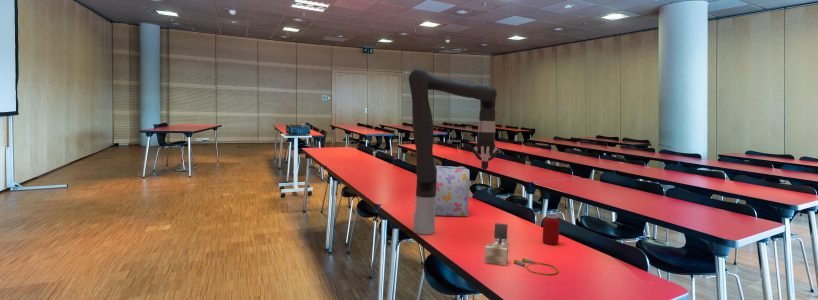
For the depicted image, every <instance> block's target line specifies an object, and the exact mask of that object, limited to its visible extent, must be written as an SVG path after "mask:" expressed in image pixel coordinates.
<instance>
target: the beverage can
mask: <svg viewBox="0 0 818 300" xmlns="http://www.w3.org/2000/svg"><path fill="white" fill-rule="evenodd" d="M542 223H543V226H542V242H543V243H544V244H546V245H550V246H556V245H557V244H559V240H560V239H559V238H560V237H559V236H560V226H561V225H560V223H561V222H560V219H559V216H557V215H553V214H551V215H550V214H546V215H545V216H544V218H543V222H542Z"/></svg>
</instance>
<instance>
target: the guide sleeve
mask: <svg viewBox="0 0 818 300" xmlns="http://www.w3.org/2000/svg"><path fill="white" fill-rule="evenodd" d="M498 242H499V239H496V238H494V241H493V243H494V244H498ZM508 244H509V234H508V233H507V240H504V239H502V245H508ZM508 246H509V245H508Z"/></svg>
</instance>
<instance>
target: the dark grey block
mask: <svg viewBox="0 0 818 300" xmlns="http://www.w3.org/2000/svg"><path fill="white" fill-rule="evenodd" d="M508 227H509V226H508V224H507V223H500V222H499V223H498V222H495V223H494V235H493V239H495V238H496V239H499V242H498V244H502V241H503V239H504V240H507V234H508V229H509V228H508Z"/></svg>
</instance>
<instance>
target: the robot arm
mask: <svg viewBox="0 0 818 300" xmlns="http://www.w3.org/2000/svg"><path fill="white" fill-rule="evenodd" d="M408 82H409V83H408V84H409V89H410V94H411V95H410V96H411V108H412V109H411V111H412V112H411V115H412V117H411V119H412V131H413V139H414V146H415V151H416V165H415V169H416V170H415V173H416V187H415V206H414V207H415V211H414V212H413V228H412V229H413V231H412V232H413V233H415V234H417V235H422V236H423V235H425V236H426V235H427V236H428V235H433V234H435V225H436V223H435V221H436V215H435V201H436V181H437V168H436V166H437V165H435V161H434V160H435V159H434V153H433V149H434V148H433V147H434V145H433V144H434V123H433V122H434V121H433V113H432V109H431V106H430V101H429V90H430V91H439V92H443V93H447V94H450V95H453V96H459V97H463V98H467V99H476V100H478V101H480V103H479V104H480V109H479V116H478V127H477V142H476V145H475V146H474V147H472V148H471V152H472V153H473V155H475V157H476V159H477V160H479V161H481V165H480V167H481V169H482V170H483V171H484V170H485V171H487V169H488V168H489V162H490V161H493V159H494V158H495V157H496V156H497V155H498V154H499V153H500V152H501V150H500V149H499V148H497V147H496V143H495V139H496V97H497V95H498V92H497V89H496V88H495V87H494V86H491V85H487V84H480V83H475V82H472V81H468V80H467V81H466V80H461V79H455V78H448V77H441V76H438V75H435V74H433V73H429V72H428V71H426V70H425V69H423V68H419V67H418V68H413V70H412V71H411V72H410V73H409V75H408ZM478 151H479V152H478ZM479 153H480V154H479ZM491 153H493V154H492V155H491V156H490V154H491Z"/></svg>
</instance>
